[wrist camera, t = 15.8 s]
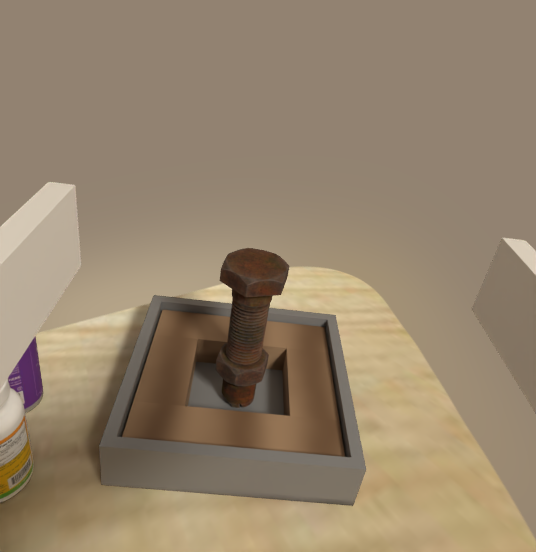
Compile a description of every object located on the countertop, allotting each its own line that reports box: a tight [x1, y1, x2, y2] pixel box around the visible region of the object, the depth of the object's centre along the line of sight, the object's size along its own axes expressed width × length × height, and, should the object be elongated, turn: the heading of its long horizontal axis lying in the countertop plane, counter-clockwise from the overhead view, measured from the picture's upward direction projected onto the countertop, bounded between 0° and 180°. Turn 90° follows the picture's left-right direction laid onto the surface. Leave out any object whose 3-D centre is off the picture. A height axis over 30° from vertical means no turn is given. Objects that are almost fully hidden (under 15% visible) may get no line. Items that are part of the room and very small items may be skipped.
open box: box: [99, 295, 366, 506], centre depth 46 cm, size 20×20×4 cm
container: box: [8, 337, 43, 413], centre depth 41 cm, size 5×5×15 cm
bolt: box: [215, 248, 289, 408], centre depth 43 cm, size 6×5×15 cm
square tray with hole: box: [122, 310, 345, 457], centre depth 46 cm, size 18×18×3 cm
